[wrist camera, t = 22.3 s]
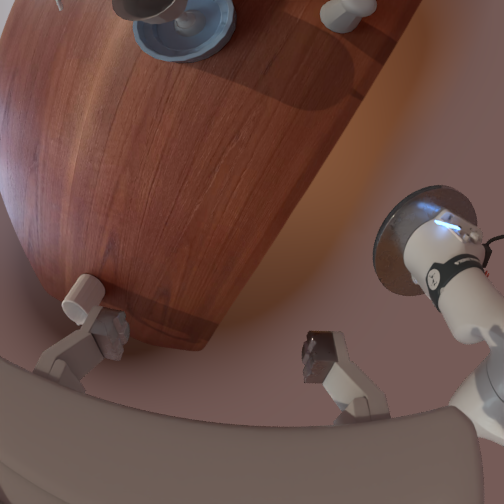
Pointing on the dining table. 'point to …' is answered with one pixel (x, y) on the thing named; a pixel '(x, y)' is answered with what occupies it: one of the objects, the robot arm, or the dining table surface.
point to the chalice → (162, 14)
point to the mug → (83, 298)
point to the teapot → (59, 4)
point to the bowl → (194, 47)
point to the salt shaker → (345, 13)
